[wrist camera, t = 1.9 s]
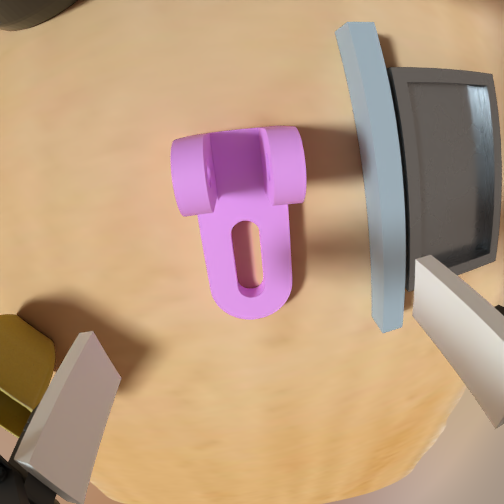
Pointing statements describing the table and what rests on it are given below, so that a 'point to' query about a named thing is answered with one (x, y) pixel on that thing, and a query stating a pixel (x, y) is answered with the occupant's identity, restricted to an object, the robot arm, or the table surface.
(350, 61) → the door edge
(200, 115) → the table surface
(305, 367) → the table surface
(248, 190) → the bracket
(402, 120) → the shallow rectangular tray
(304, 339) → the table surface
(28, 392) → the flower pot
